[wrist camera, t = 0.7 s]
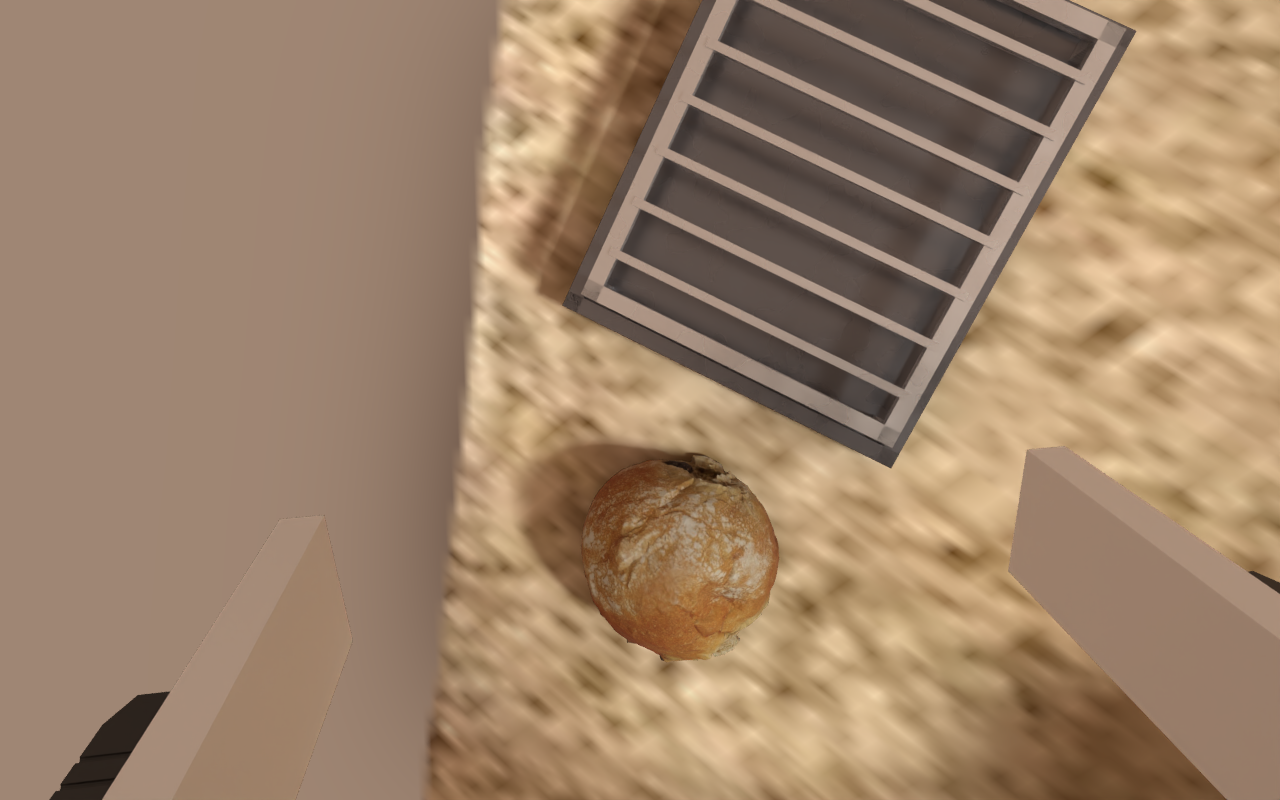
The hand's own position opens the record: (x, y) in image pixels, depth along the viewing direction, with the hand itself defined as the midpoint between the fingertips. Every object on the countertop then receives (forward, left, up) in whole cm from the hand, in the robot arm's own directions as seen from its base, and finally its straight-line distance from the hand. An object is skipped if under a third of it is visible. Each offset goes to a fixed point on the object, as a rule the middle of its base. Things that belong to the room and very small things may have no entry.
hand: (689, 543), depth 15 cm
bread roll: (-2, +9, -26) cm, 28 cm away
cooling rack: (0, -11, -26) cm, 28 cm away
